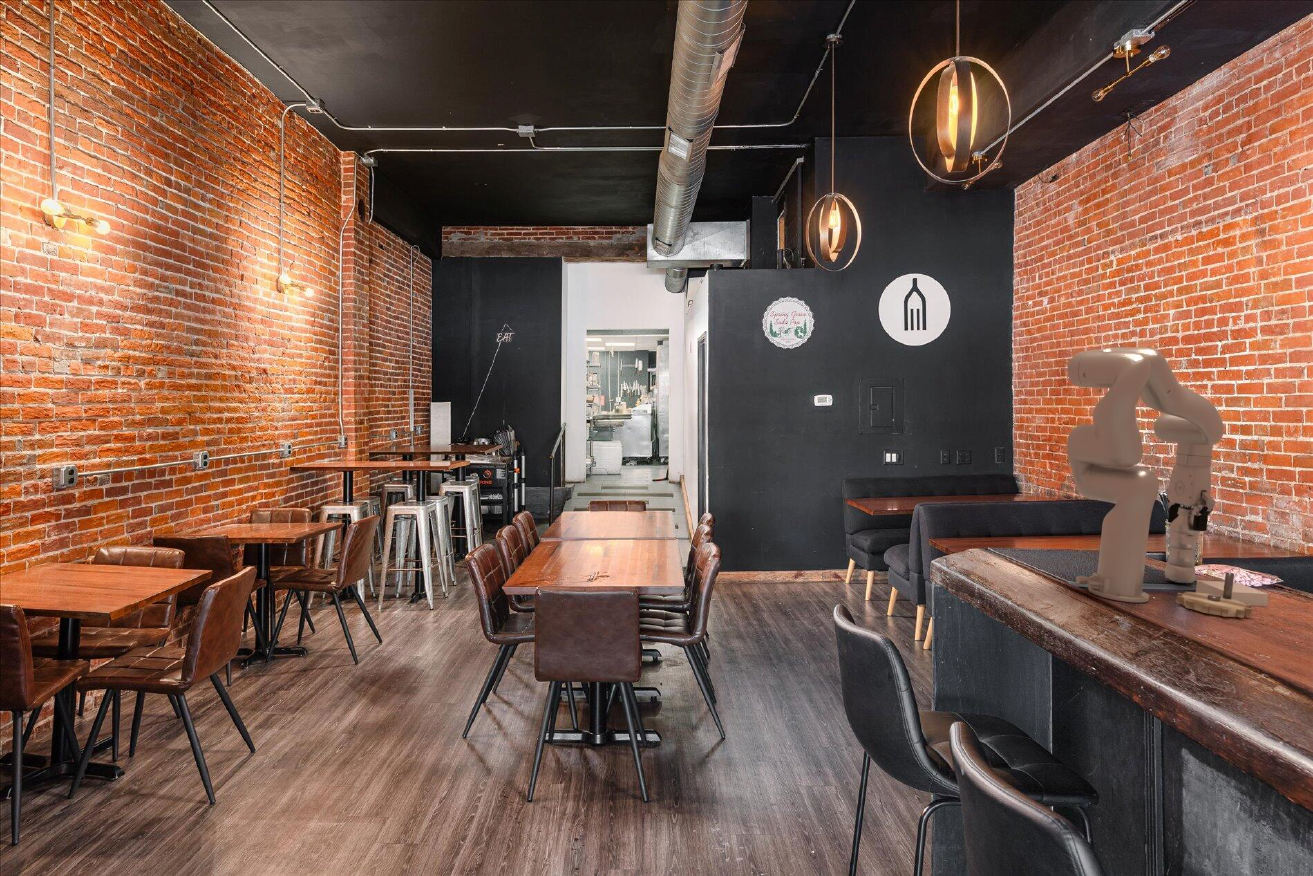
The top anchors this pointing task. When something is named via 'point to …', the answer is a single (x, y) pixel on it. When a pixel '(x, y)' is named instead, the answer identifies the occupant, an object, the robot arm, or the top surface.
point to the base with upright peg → (1216, 601)
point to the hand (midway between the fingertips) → (1186, 526)
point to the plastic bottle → (1182, 547)
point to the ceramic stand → (1234, 592)
